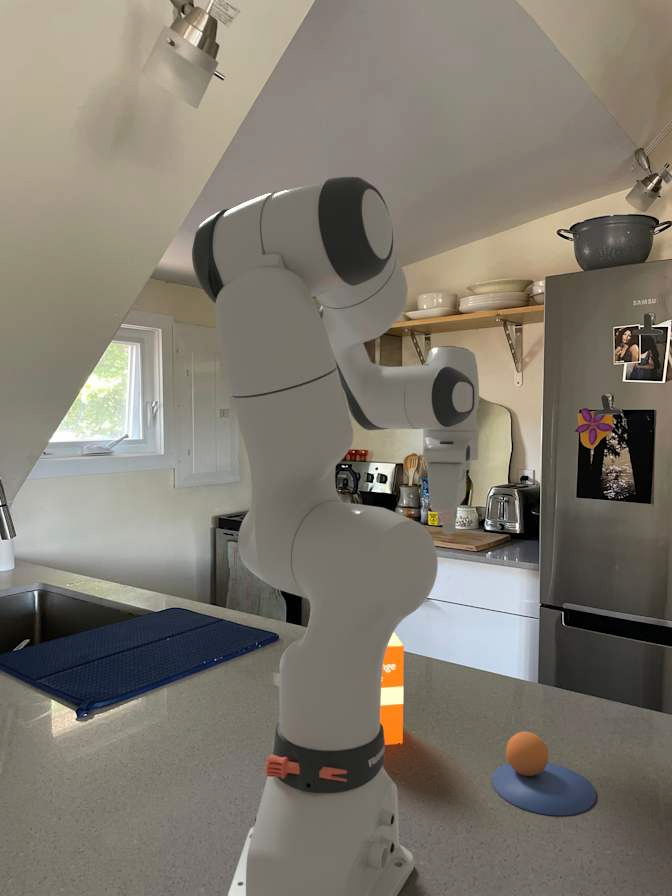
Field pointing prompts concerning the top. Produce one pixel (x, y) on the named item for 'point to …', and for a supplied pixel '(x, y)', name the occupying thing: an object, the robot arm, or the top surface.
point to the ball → (527, 753)
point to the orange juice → (392, 692)
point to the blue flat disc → (545, 790)
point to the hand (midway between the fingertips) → (449, 533)
